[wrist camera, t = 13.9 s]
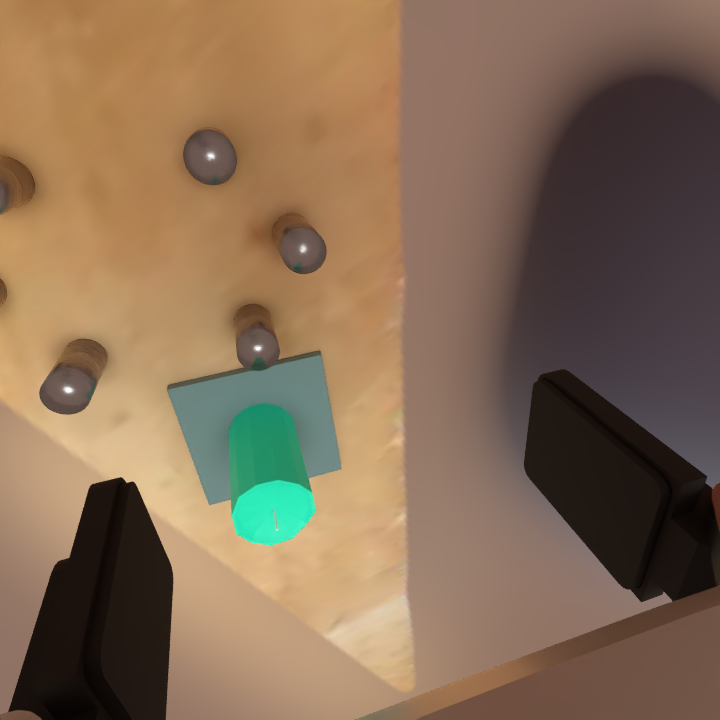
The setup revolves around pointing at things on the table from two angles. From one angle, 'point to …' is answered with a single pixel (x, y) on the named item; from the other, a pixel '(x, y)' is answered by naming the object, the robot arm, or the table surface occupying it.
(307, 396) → the mat
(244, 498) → the candle
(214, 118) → the table surface
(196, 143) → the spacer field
